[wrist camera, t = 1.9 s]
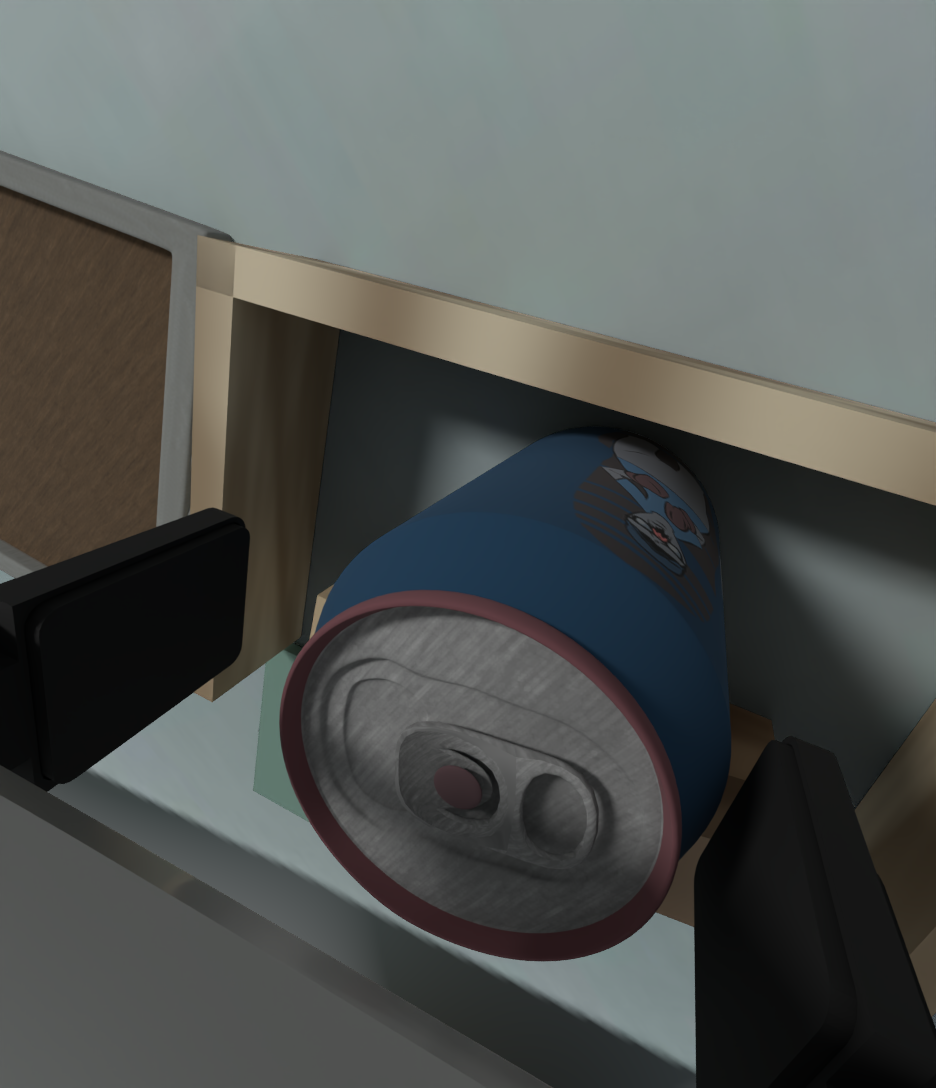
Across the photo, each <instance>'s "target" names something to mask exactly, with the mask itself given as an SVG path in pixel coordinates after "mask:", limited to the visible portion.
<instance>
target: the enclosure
mask: <svg viewBox="0 0 936 1088" xmlns="http://www.w3.org/2000/svg"><path fill="white" fill-rule="evenodd" d="M340 329H342V330H346V331H349V332H352V333H356V334H359V335H363V336H366V337H369V338H373V339H376V340H379V341H383V342H386V343H390V344H393V345H396V346H400V347H403V348H406V349H410V350H413V351H416V352H420V353H423V354H427V355H430V356H433V357H437V358H440V359H443V360H447V361H450V362H454V363H457V364H460V365H464V366H467V367H470V368H474V369H477V370H480V371H484V372H487V373H491V374H494V375H497V376H501V377H504V378H507V379H511V380H514V381H518V382H521V383H524V384H528V385H531V386H534V387H538V388H541V389H545V390H548V391H551V392H555V393H558V394H561V395H565V396H568V397H571V398H575V399H578V400H582V401H585V402H588V403H592V404H595V405H598V406H602V407H605V408H609V409H612V410H615V411H619V412H622V413H625V414H629V415H632V416H636V417H639V418H642V419H646V420H649V421H652V422H656V423H659V424H662V425H666V426H669V427H673V428H676V429H679V430H683V431H686V432H689V433H693V434H696V435H700V436H703V437H706V438H710V439H713V440H716V441H720V442H723V443H727V444H730V445H733V446H737V447H740V448H743V449H747V450H750V451H753V452H757V453H760V454H764V455H767V456H770V457H774V458H777V459H780V460H784V461H787V462H791V463H794V464H797V465H801V466H804V467H807V468H811V469H814V470H818V471H821V472H824V473H828V474H831V475H834V476H838V477H841V478H844V479H848V480H851V481H855V482H858V483H861V484H865V485H868V486H871V487H875V488H878V489H882V490H885V491H888V492H892V493H895V494H898V495H902V496H905V497H908V498H912V499H915V500H919V501H922V502H925V503H929V504H932V505H935V506H936V423H935V422H932V421H928V420H924V419H920V418H916V417H913V416H909V415H905V414H901V413H897V412H894V411H890V410H886V409H882V408H878V407H875V406H871V405H867V404H863V403H859V402H856V401H852V400H848V399H844V398H840V397H837V396H833V395H829V394H825V393H822V392H818V391H814V390H810V389H806V388H803V387H799V386H795V385H791V384H787V383H784V382H780V381H776V380H772V379H768V378H765V377H761V376H757V375H753V374H749V373H746V372H742V371H738V370H734V369H730V368H727V367H723V366H719V365H715V364H712V363H708V362H704V361H700V360H696V359H693V358H689V357H685V356H681V355H677V354H674V353H670V352H666V351H662V350H658V349H655V348H651V347H647V346H643V345H639V344H636V343H632V342H628V341H624V340H620V339H617V338H613V337H609V336H605V335H602V334H598V333H594V332H590V331H586V330H583V329H579V328H575V327H571V326H567V325H564V324H560V323H556V322H552V321H548V320H545V319H541V318H537V317H533V316H529V315H526V314H522V313H518V312H514V311H511V310H507V309H503V308H499V307H495V306H492V305H488V304H484V303H480V302H476V301H473V300H469V299H465V298H461V297H457V296H454V295H450V294H446V293H442V292H438V291H435V290H431V289H427V288H423V287H419V286H416V285H412V284H408V283H404V282H401V281H397V280H393V279H389V278H385V277H382V276H378V275H374V274H370V273H366V272H363V271H359V270H355V269H351V268H347V267H344V266H340V265H336V264H332V263H328V262H325V261H321V260H317V259H312V258H307V257H303V256H298V255H293V254H288V253H283V252H278V251H273V250H268V249H263V248H258V247H254V246H249V245H244V244H239V243H234V242H229V241H224V240H219V239H214V238H210V237H205V236H200V235H197V273H196V312H195V350H194V388H193V427H192V465H191V504H190V515H191V514H193V513H196V512H199V511H202V510H204V509H207V508H212V507H213V508H217V509H220V510H222V511H225V512H227V513H230V514H232V515H235V516H237V517H240V518H241V519H242V520H243V521H244V523H245V527H246V529H247V530H248V531H249V533H250V547H249V560H248V574H247V587H246V600H245V614H244V627H243V641H242V649H241V652H240V654H239V656H238V658H237V659H236V660H235V662H234V663H233V664H232V665H230V666H229V667H228V668H226V669H225V670H224V671H222V672H221V673H219V674H218V675H217V676H215V677H214V678H213V679H211V680H210V681H208V682H207V683H206V684H204V685H203V686H202V687H200V688H199V689H197V690H196V691H195V692H194V693H196V694H198V695H200V696H202V697H204V698H205V699H207V700H209V701H211V702H213V701H214V700H216V699H217V698H219V697H220V696H221V695H223V694H224V693H225V692H227V691H228V690H229V689H231V688H232V687H234V686H235V685H236V684H238V683H239V682H240V681H242V680H243V679H244V678H246V677H247V676H248V675H250V674H251V673H253V672H254V671H255V670H257V669H258V668H259V667H261V666H262V665H263V664H265V663H266V662H268V661H269V660H270V659H272V658H273V657H274V656H276V655H277V654H278V653H280V652H281V651H282V650H284V649H285V648H287V647H288V646H289V645H291V644H292V643H293V642H295V641H296V640H297V639H299V638H300V637H301V632H302V624H303V616H304V608H305V601H306V593H307V585H308V577H309V569H310V561H311V553H312V545H313V537H314V529H315V522H316V514H317V506H318V498H319V490H320V482H321V474H322V466H323V458H324V450H325V443H326V435H327V427H328V419H329V411H330V403H331V395H332V387H333V379H334V372H335V364H336V356H337V348H338V340H339V332H340ZM855 813H856V816H857V819H858V822H859V824H860V827H861V830H862V833H863V836H864V839H865V841H866V844H867V847H868V850H869V853H870V856H871V859H872V861H873V864H874V867H875V870H876V873H877V874H878V875H879V876H880V878H881V880H882V882H883V884H884V886H885V889H886V891H887V894H888V897H889V900H890V903H891V905H892V908H893V911H894V914H895V916H896V919H897V922H898V925H899V928H900V930H901V933H902V936H903V939H904V942H905V944H906V947H907V950H908V953H909V956H910V958H911V961H912V964H913V967H914V970H915V972H916V975H917V978H918V981H919V984H920V986H921V989H922V992H923V995H924V997H925V1000H926V1003H927V1006H928V1009H929V1011H930V1014H931V1017H932V1016H933V1015H934V1014H935V1013H936V699H935V700H934V702H933V703H932V704H931V706H930V707H929V709H928V710H927V711H926V713H925V714H924V715H923V717H922V718H921V720H920V721H919V722H918V724H917V725H916V726H915V728H914V729H913V731H912V732H911V733H910V735H909V736H908V737H907V739H906V740H905V742H904V743H903V744H902V746H901V747H900V748H899V750H898V751H897V753H896V754H895V755H894V757H893V758H892V759H891V761H890V762H889V764H888V765H887V766H886V768H885V769H884V770H883V772H882V773H881V775H880V776H879V777H878V779H877V780H876V781H875V783H874V784H873V786H872V787H871V788H870V790H869V791H868V792H867V794H866V795H865V797H864V798H863V799H862V801H861V802H860V803H859V805H858V806H857V808H856V809H855Z"/></svg>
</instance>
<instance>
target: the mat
mask: <svg viewBox="0 0 936 1088" xmlns="http://www.w3.org/2000/svg"><path fill="white" fill-rule="evenodd" d="M301 650H302V647H300V646H298V645H296V644H294V643H292V644H291V645H289V646H288V647H287V648H285V649H284V650H282V651H281V652H280V653H278V654H277V655H276V656H274V657H273V658H272V659H270V660H269V661H268V662H266V664H265V675H264V685H263V695H262V705H261V715H260V726H259V736H258V746H257V756H256V767H255V777H254V787H253V791H255V792H257V793H258V794H260V795H262V796H264V797H266V798H267V799H269V800H271V801H273V802H274V803H276V804H278V805H280V806H282V807H283V808H285V809H287V810H289V811H290V812H292V813H294V814H296V815H297V816H299V817H301V818H303V819H305V820H306V821H308V822H309V820H308V818H307V817H306V815H305V813H304V811H303V809H302V807H301V805H300V803H299V801H298V799H297V797H296V795H295V792H294V790H293V787H292V785H291V782H290V779H289V776H288V773H287V770H286V766H285V762H284V758H283V753H282V748H281V741H280V728H279V716H280V705H281V698H282V693H283V688H284V685H285V682H286V679H287V676H288V674H289V671H290V669H291V667H292V664H293V663H294V661H295V659H296V657H297V655H298V654H299V652H300V651H301Z"/></svg>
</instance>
